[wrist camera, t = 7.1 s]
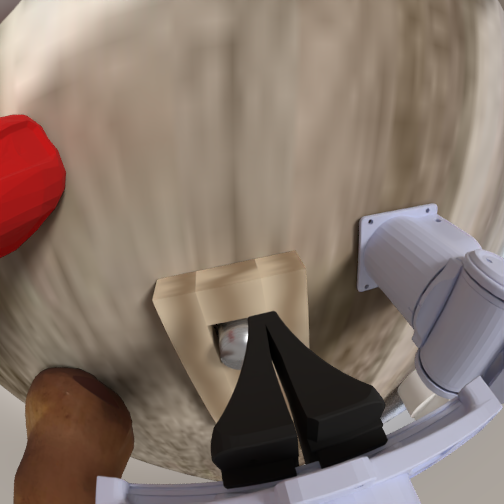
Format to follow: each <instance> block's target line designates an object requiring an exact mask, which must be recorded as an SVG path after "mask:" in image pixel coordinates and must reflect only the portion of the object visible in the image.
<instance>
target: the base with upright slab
mask: <svg viewBox="0 0 504 504" xmlns="http://www.w3.org/2000/svg"><path fill="white" fill-rule="evenodd" d="M397 391H398V394H399V396H400V398H401V399H402V401H403V403H404V405H405V407H406V408H407V410H408V412H409V414H410V415H411V417H412V418H415V420H418V419H420V418H421V417H423V416H425V415H427V414H429V413H430V412H432V411H434V410H435V409H437V408H439V407H440V406H442V405H444V404H445V403H447V402H448V401H450V399H446V398H443V397H441V396H438V395H437V394H435V393H433V392H432V391H431V390H429V389H428V388H427V387H426V386H425V384H424V383H423V382H422V380H421V379H420V377H419V375H418V373H417V371H416V370H415V371H413V372H412V373H411V374H410V375H409V376H408V377H406V378H405V379H404V381H403V382H402V383H401V384H400V386H399V387H398V390H397Z"/></svg>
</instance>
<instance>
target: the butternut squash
mask: <svg viewBox="0 0 504 504" xmlns="http://www.w3.org/2000/svg"><path fill="white" fill-rule="evenodd" d="M25 417H26V428H27V439H28V441H27V446H26V450H25V452H24V455H23V458H22V460H21V462H20V465H19V467H18V469H17V472H16V475H15V480H14V504H95V499H96V482H97V476H106V477H116V478H120V479H121V477H122V474H123V471H124V469H125V467H126V465H127V462H128V460H129V458H130V455H131V453H132V451H133V448H134V435H133V429H132V419H131V416H130V412H129V411H128V409H127V407H126V406H125V404H124V402H123V401H122V399H121V398H120V396H119V395H118V394H116V393H115V392H114V391H113V390H111V389H110V388H108V387H107V386H105V385H104V384H103V383H101V382H100V381H98V379H97V378H96V377H95V376H93V375H91V374H89V373H87V372H85V371H83V370H81V369H74V368H65V367H54V368H48V369H46V370H43V371H42V372H40V373H39V374H38V375H37V376H36V377H35V379H34V380H33V382H32V384H31V386H30V389H29V391H28V394H27V397H26V405H25Z"/></svg>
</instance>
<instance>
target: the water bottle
mask: <svg viewBox="0 0 504 504" xmlns="http://www.w3.org/2000/svg"><path fill="white" fill-rule="evenodd" d="M65 178H66V171H65V168H64V166H63V163H62V160H61V158H60V155H59V152H58V150H57V149H56V148H55V146H54V145H53V144H52V143H51V141H50V140H49V139H48V137H47V135H46V133H45V132H44V130H43V128H42V127H41V126H40V125H39V124H37V123H36V122H35V121H33V120H32V119H31V118H29V117H28V116H25V115H9V116H5V117H0V258H1V257H3V256H5V255H7V254H9V253H11V252H13V251H15V250H16V249H17V248H19V247H20V246H21V245H22V244H23V243H24V242H25V241H26V240H27V239H28V238H29V237H30V236H31V235H32V234H34V233H35V232H36V231H37V230H38V228H39V227H40V226H41V225H42V223H43V222H44V221H45V220H46V218H47V217H48V216H49V215H50V214H51V213H52V211H53V210H54V209H55V207H56V206H57V204H58V202H59V199H60V197H61V195H62V193H63V191H64V189H65Z"/></svg>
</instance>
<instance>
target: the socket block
mask: <svg viewBox="0 0 504 504" xmlns="http://www.w3.org/2000/svg"><path fill="white" fill-rule="evenodd" d="M152 301H153V303H154V306H155V308H156V310H157V312H158V315H159V317H160V319H161V321H162V323H163V326H164V328H165V330H166V332H167V334H168V336H169V338H170V340H171V342H172V344H173V346H174V348H175V350H176V352H177V354H178V356H179V358H180V360H181V362H182V364H183V366H184V368H185V370H186V372H187V374H188V375H189V377H190V379H191V381H192V383H193V385H194V386H195V388H196V390H197V392H198V394H199V395H200V397H201V399H202V401H203V402H204V404H205V406H206V407H207V409H208V411H209V412H210V414H211V416H212V417H213V419H214V421H215V422H216V423H217V422H218V420H219V419H220V417H221V415H222V414H223V412H224V410H225V408H226V406H227V404H228V402H229V400H230V398H231V396H232V394H233V392H234V389H235V386H236V384H237V381H238V378H239V375H240V372H241V370H236V369H232V368H229V367H227V366H226V365H224V364H223V362H222V361H221V357H220V346H219V341H218V338H217V335H216V332H215V329H214V326H213V324H218V323H224V322H229V321H233V320H238V319H243V318H248V317H249V316H253V315H258V314H262V313H266V312H271V311H275V312H277V314H278V315H279V317H280V318H281V320H282V321H283V322H284V323H285V325H286V326H287V327H288V328H289V329H290V331H291V332H292V333H293V334H294V335H295V336H296V337H297V338H298V339H299V340H300V341H301V342H302V343H303V344H304V345H305V346H306V347H308V348H309V319H308V296H307V278H306V268H305V266H304V264H303V263H302V261H301V259H300V258H299V256H298V255H297V253H296V251H290V252H285V253H281V254H276V255H271V256H267V257H262V258H257V259H252V260H248V261H243V262H238V263H234V264H229V265H224V266H219V267H214V268H210V269H205V270H200V271H195V272H190V273H186V274H181V275H176V276H171V277H166V278H161V279H157V282H156V286H155V291H154V295H153V299H152ZM272 363H273V362H272ZM273 366H274V365H273ZM274 369H275V367H274ZM275 372H276V370H275ZM276 375H277V372H276ZM277 378H278V381H279V385H280V388H281V390H282V393H283V396H284V399H285V402H286V405H287V407H288V410H289V413H290V415H291V418H292V420H293V417H292V414H291V410H290V407H289V403H288V400H287V397H286V394H285V392H284V389H283V387H282V385H281V382H280V380H279V377H278V375H277Z"/></svg>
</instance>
